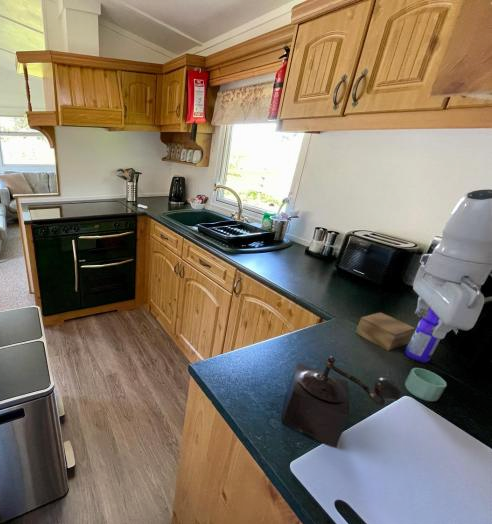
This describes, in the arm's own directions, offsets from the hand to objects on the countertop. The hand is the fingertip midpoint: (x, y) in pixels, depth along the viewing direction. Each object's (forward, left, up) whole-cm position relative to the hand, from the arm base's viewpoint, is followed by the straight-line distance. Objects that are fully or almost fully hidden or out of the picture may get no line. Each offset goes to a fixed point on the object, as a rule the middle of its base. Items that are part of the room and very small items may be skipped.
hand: (427, 325), depth 65 cm
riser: (+16, -24, -20) cm, 35 cm away
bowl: (-2, -7, -20) cm, 22 cm away
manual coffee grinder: (+1, +27, -20) cm, 33 cm away
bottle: (+6, -25, -20) cm, 32 cm away
